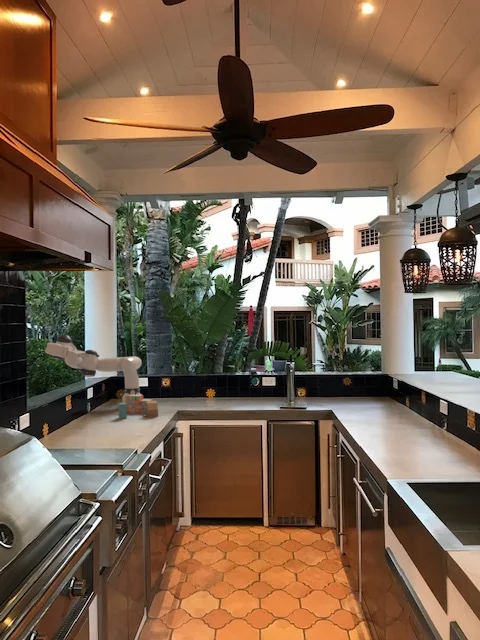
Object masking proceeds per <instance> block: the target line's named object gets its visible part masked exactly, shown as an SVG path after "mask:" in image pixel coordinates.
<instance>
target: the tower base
mask: <svg viewBox="0 0 480 640" xmlns="http://www.w3.org/2000/svg"><path fill="white" fill-rule="evenodd" d="M145 411H146V413H145V417H146V418H157V417H159V409H158V410H147V409H145Z"/></svg>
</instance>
